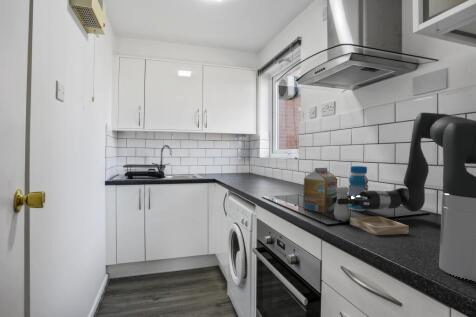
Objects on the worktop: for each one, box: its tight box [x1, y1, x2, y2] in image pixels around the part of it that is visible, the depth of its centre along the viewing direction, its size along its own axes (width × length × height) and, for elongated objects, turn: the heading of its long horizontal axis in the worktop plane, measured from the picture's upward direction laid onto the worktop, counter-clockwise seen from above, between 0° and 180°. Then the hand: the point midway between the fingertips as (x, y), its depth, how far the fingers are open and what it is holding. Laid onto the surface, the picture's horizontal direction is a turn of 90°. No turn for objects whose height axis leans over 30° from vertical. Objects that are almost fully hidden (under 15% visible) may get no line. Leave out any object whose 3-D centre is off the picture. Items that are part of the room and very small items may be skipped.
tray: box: [349, 215, 410, 236], centre depth 88 cm, size 13×13×2 cm
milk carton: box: [302, 167, 338, 214], centre depth 117 cm, size 10×10×19 cm
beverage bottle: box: [347, 165, 369, 212], centre depth 118 cm, size 8×8×20 cm
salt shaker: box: [333, 185, 351, 222], centre depth 99 cm, size 6×6×13 cm
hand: (335, 200), depth 98 cm, fingers closed on salt shaker, 3 cm apart
